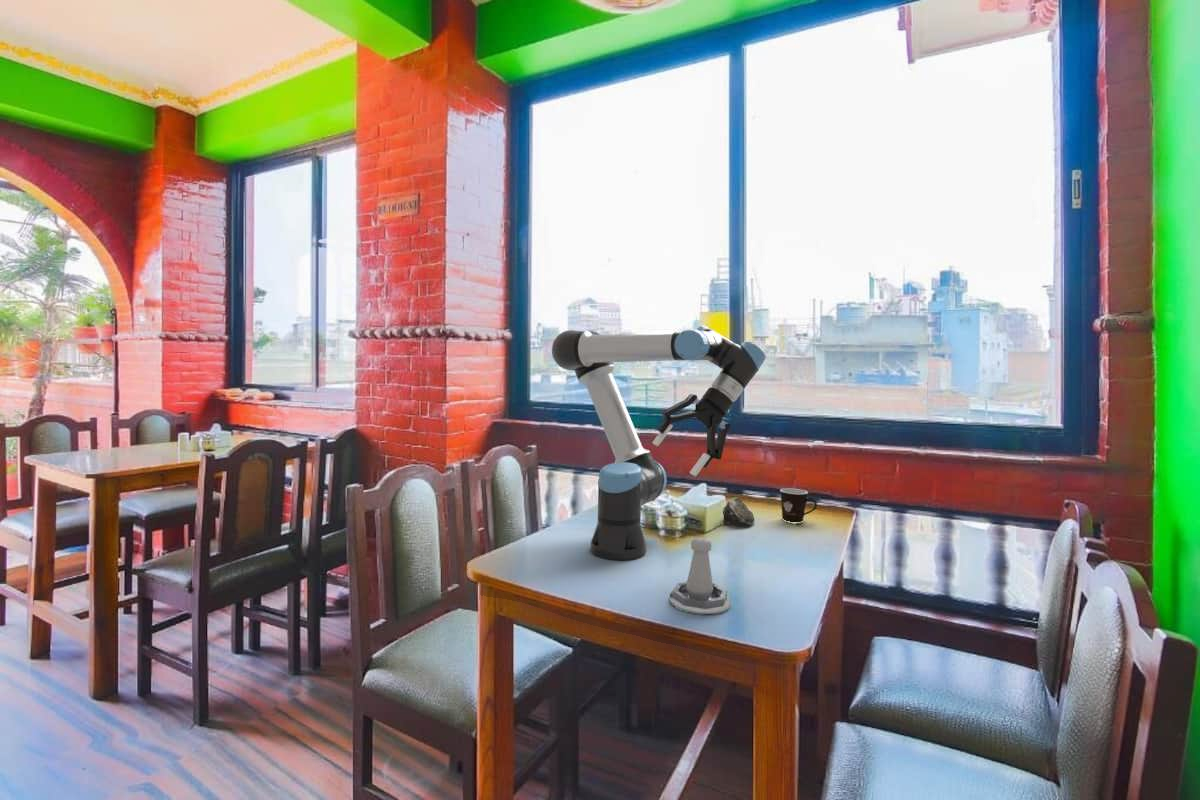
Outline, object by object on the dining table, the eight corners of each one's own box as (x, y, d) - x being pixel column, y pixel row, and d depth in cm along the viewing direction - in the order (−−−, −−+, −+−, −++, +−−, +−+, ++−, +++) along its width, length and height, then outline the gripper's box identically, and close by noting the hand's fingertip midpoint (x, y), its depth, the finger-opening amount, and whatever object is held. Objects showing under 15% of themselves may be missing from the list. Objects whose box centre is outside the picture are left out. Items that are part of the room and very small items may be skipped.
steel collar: (663, 608, 125) (663, 597, 125) (676, 586, 137) (677, 576, 137) (725, 619, 121) (725, 607, 121) (733, 595, 133) (734, 585, 133)
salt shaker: (692, 590, 133) (694, 533, 132) (716, 596, 130) (719, 538, 129) (681, 598, 128) (683, 539, 127) (706, 605, 125) (708, 544, 124)
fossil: (755, 528, 186) (741, 499, 186) (728, 538, 188) (714, 510, 188) (755, 518, 196) (742, 490, 196) (730, 528, 199) (716, 501, 199)
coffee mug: (773, 518, 200) (775, 489, 199) (795, 516, 202) (797, 487, 202) (794, 528, 189) (796, 497, 188) (817, 526, 191) (819, 495, 190)
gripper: (694, 366, 148) (643, 434, 146) (761, 424, 155) (714, 490, 153) (682, 364, 155) (633, 429, 153) (747, 420, 162) (701, 483, 161)
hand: (673, 459), depth 153 cm, fingers open, 13 cm apart
